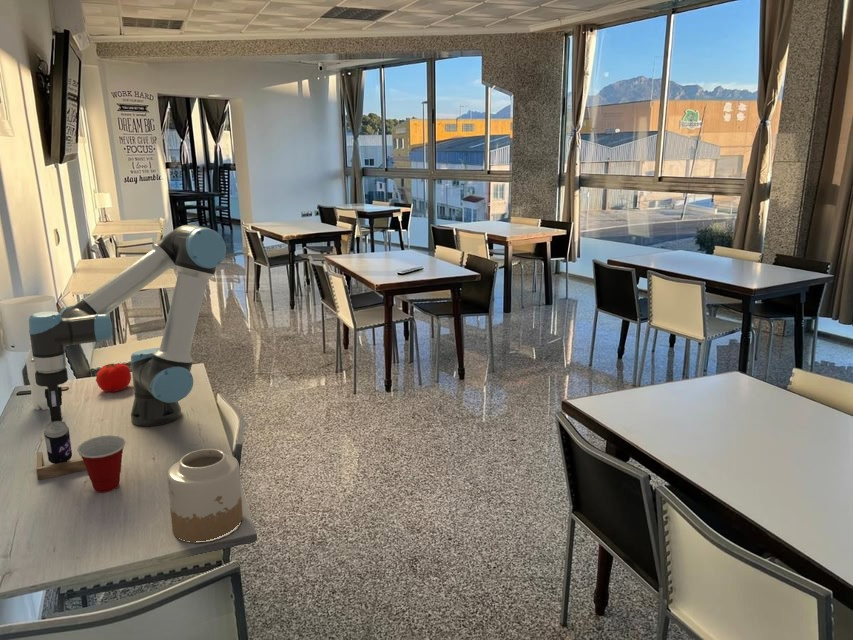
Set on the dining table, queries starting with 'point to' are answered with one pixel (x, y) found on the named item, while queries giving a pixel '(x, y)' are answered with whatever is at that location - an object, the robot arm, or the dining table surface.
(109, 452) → the plastic cup
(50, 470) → the corral
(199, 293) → the robot arm
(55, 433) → the beverage can
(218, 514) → the vase
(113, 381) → the tomato
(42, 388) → the water bottle
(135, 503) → the dining table surface
